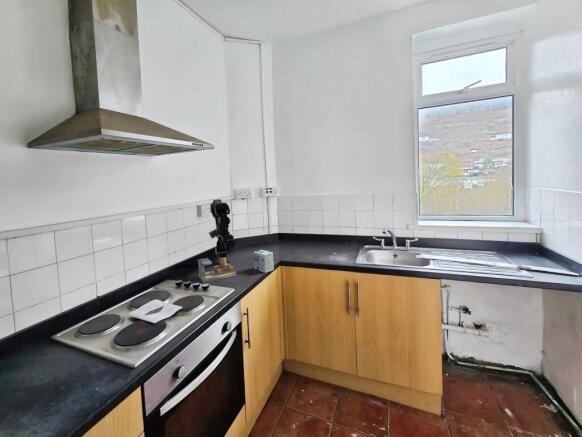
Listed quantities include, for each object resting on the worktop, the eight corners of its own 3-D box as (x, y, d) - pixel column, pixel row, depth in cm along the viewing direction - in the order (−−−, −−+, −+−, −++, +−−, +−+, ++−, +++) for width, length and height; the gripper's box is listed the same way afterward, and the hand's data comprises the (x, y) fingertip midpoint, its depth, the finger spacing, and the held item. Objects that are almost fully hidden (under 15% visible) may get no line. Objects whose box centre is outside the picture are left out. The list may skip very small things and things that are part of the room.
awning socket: (199, 276, 160) (197, 259, 159) (229, 269, 168) (228, 253, 167) (203, 282, 150) (201, 264, 148) (235, 275, 158) (234, 258, 157)
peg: (226, 270, 163) (225, 257, 162) (228, 271, 160) (226, 258, 159) (220, 271, 161) (218, 258, 160) (221, 273, 158) (220, 259, 157)
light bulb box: (254, 269, 167) (252, 252, 165) (263, 266, 171) (261, 249, 170) (265, 273, 159) (264, 254, 158) (274, 269, 164) (273, 252, 162)
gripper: (205, 223, 170) (208, 248, 172) (213, 227, 154) (215, 255, 156) (223, 221, 175) (226, 245, 178) (232, 225, 159) (235, 251, 161)
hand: (225, 249), depth 168 cm, fingers open, 9 cm apart
